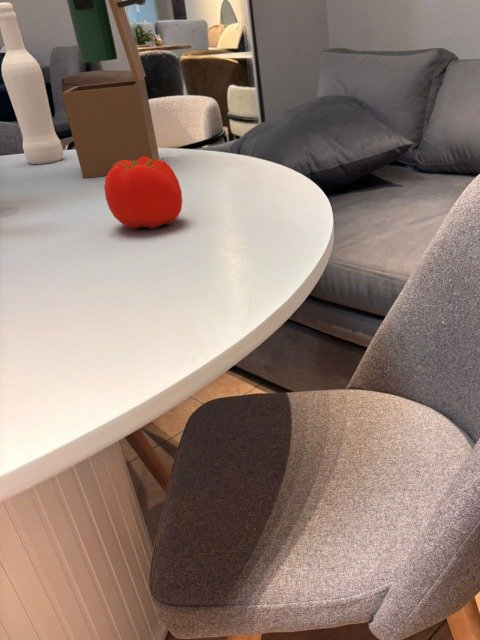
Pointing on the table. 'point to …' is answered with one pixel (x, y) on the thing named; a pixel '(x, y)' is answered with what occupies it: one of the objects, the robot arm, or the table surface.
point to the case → (110, 125)
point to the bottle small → (93, 32)
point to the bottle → (27, 94)
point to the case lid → (128, 36)
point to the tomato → (143, 193)
